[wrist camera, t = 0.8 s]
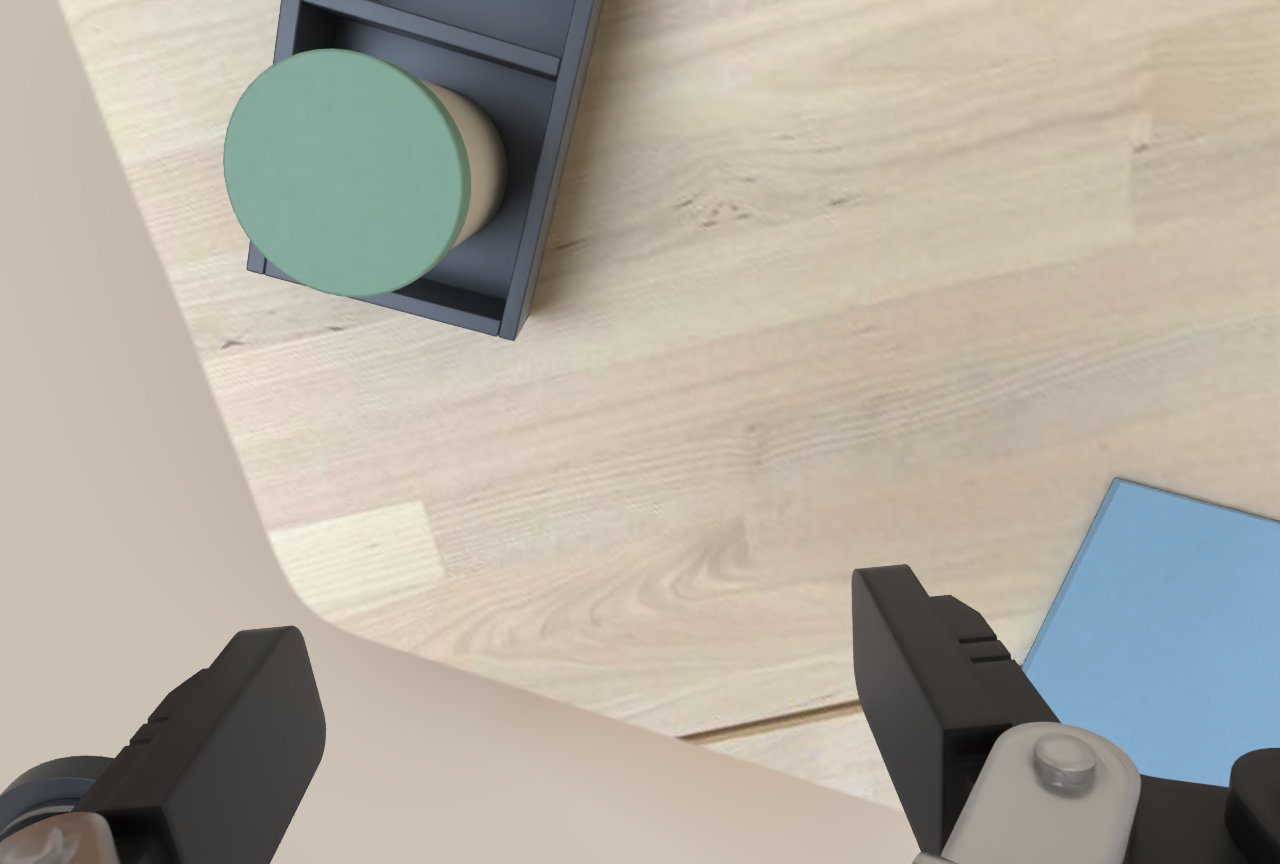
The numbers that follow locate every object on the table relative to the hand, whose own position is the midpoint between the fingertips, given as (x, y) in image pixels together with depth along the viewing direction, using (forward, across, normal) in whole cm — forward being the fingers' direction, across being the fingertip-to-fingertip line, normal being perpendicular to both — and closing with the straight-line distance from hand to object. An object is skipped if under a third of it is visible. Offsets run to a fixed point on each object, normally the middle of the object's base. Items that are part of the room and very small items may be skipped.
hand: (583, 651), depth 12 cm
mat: (+22, +24, -18) cm, 38 cm away
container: (+22, -6, +7) cm, 23 cm away
